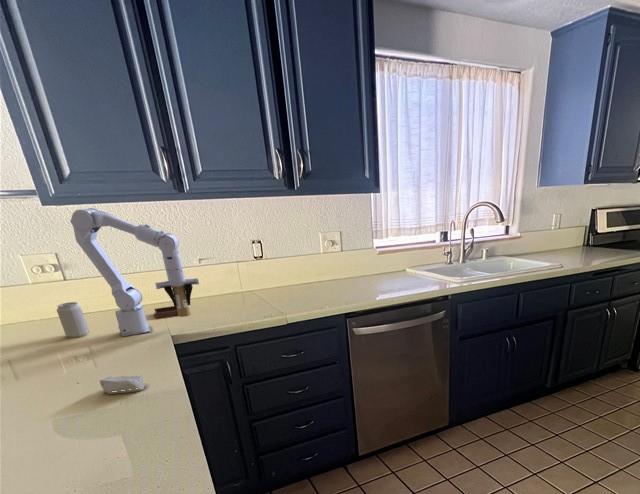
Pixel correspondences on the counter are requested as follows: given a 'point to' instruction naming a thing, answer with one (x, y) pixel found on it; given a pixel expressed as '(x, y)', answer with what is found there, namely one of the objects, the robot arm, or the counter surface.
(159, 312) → the tray
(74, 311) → the can
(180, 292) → the sprinkles bottle
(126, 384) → the grey rock
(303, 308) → the counter surface
